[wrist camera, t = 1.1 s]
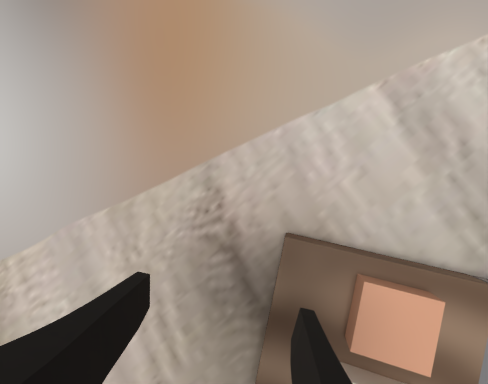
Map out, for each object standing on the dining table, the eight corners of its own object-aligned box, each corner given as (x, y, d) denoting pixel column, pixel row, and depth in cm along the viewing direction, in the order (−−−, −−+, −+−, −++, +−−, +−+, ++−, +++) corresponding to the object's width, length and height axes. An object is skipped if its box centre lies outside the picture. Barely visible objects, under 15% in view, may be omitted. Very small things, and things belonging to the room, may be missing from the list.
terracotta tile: (416, 358, 18) (430, 377, 16) (344, 336, 19) (350, 351, 17) (429, 291, 18) (445, 302, 16) (357, 273, 19) (364, 281, 17)
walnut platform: (432, 454, 20) (455, 498, 17) (255, 386, 23) (249, 413, 20) (468, 274, 20) (497, 287, 17) (286, 232, 23) (285, 236, 20)
